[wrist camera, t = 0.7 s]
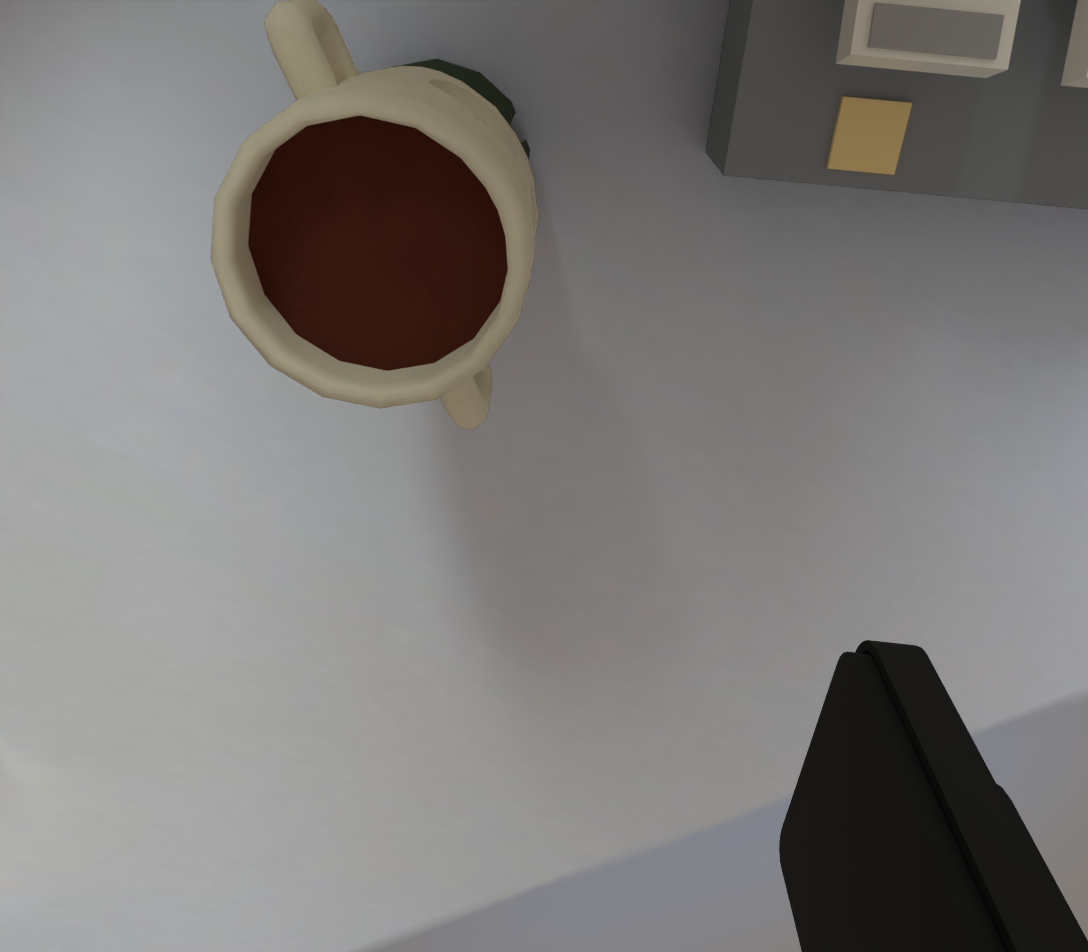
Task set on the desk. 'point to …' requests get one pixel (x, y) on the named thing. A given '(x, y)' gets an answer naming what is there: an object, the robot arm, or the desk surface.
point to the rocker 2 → (1077, 50)
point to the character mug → (377, 225)
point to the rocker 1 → (929, 35)
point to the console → (898, 111)
